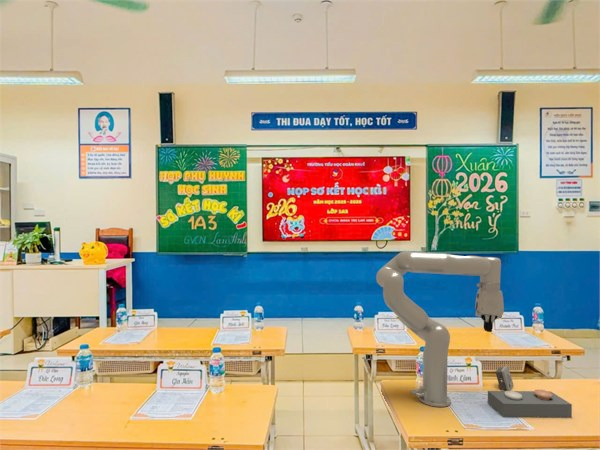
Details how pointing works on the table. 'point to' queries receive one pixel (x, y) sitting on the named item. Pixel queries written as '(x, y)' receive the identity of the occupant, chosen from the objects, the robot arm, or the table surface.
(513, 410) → the button box
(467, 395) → the table surface
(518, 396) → the grey button
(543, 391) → the terracotta button
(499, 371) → the electrical switch
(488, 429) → the table surface
